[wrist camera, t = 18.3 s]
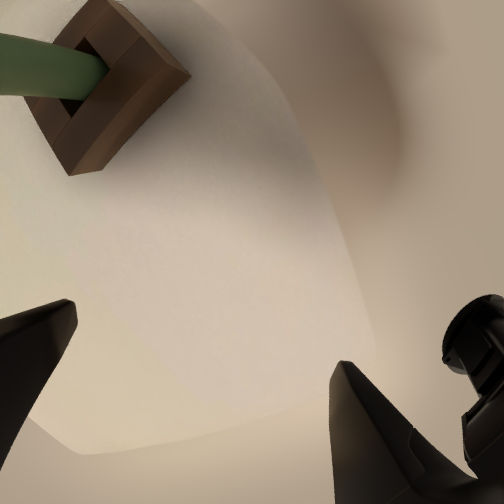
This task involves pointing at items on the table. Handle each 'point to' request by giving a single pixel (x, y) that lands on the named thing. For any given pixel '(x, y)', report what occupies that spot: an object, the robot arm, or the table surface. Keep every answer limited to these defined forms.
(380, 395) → the robot arm
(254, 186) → the table surface
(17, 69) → the peg
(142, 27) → the holder
